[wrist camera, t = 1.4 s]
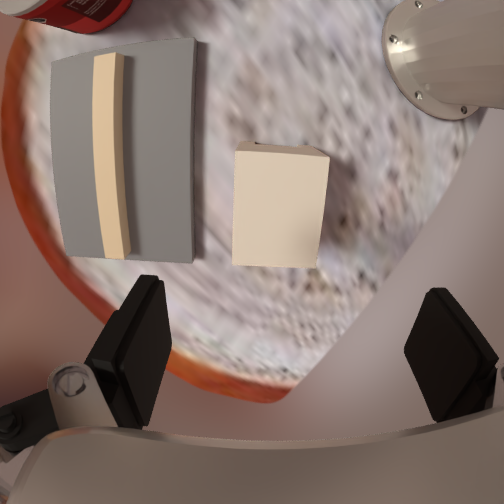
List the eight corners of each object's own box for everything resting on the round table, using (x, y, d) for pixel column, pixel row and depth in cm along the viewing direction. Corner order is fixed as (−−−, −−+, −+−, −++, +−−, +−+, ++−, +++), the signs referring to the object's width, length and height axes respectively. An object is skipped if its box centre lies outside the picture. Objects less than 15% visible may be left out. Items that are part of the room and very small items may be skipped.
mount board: (197, 41, 21) (189, 32, 18) (195, 256, 29) (188, 273, 26) (60, 63, 21) (41, 60, 18) (73, 249, 29) (58, 263, 26)
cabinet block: (310, 145, 25) (329, 157, 18) (301, 239, 29) (313, 277, 22) (240, 141, 25) (235, 150, 18) (237, 236, 28) (232, 274, 22)
